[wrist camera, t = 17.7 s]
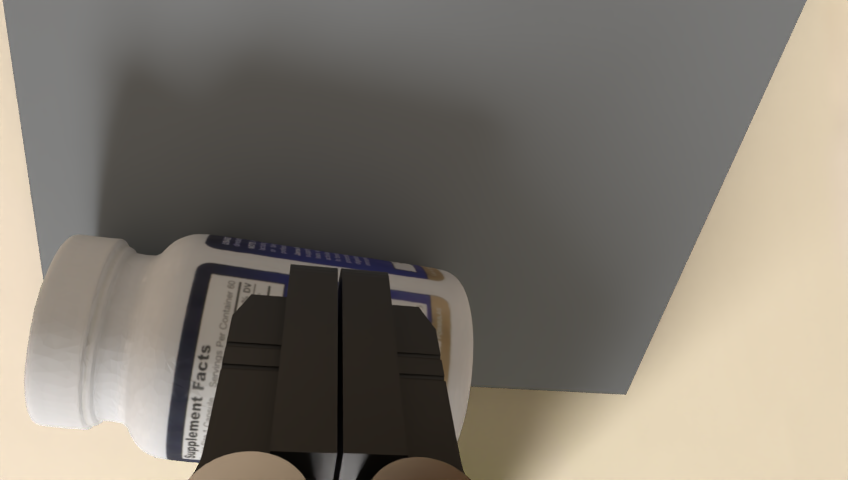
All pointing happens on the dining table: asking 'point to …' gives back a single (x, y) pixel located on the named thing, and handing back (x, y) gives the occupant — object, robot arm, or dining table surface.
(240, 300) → the pill bottle
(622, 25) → the mat
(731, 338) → the dining table surface
